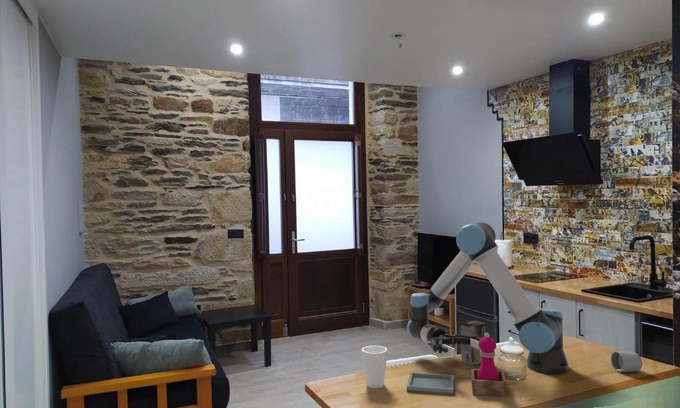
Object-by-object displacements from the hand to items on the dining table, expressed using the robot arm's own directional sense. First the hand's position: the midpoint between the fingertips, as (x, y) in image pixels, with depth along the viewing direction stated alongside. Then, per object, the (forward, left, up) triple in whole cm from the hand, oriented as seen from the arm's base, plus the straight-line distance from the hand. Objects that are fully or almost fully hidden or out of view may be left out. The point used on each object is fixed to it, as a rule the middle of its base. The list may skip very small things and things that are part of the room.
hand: (469, 349), depth 174 cm
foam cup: (+34, +10, -12) cm, 37 cm away
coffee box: (-2, -22, -12) cm, 25 cm away
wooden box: (-6, +7, -11) cm, 15 cm away
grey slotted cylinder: (-58, -22, -12) cm, 63 cm away
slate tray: (+14, +7, -11) cm, 19 cm away
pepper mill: (-6, +7, -12) cm, 15 cm away
